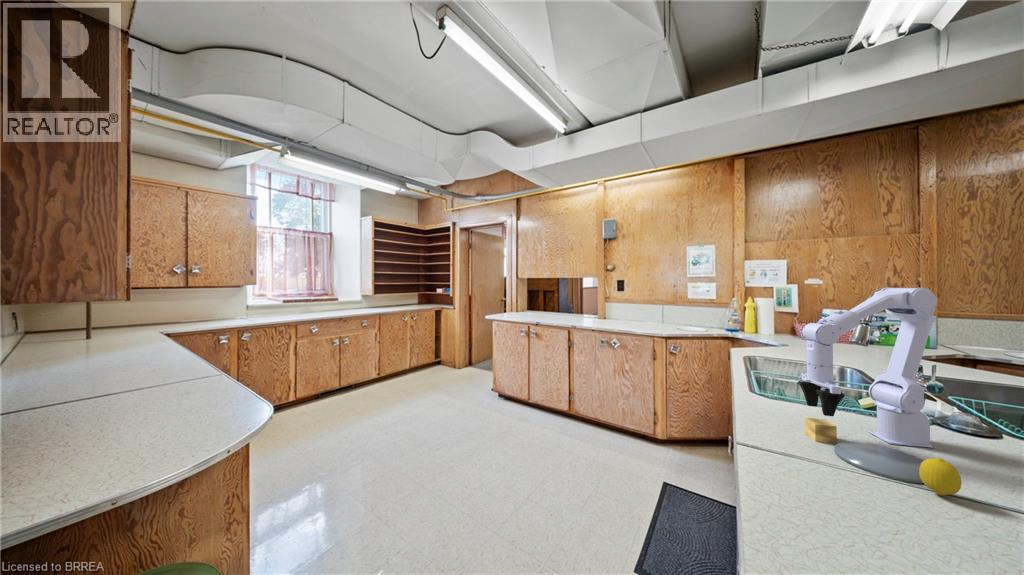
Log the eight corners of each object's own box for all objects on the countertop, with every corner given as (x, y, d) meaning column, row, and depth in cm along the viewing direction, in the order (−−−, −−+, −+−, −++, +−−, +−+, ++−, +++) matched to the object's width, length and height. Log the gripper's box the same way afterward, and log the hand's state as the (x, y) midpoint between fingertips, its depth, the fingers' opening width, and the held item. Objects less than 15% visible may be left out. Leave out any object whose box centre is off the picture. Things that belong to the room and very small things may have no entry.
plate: (898, 449, 90) (898, 446, 90) (969, 489, 72) (969, 484, 72) (818, 442, 94) (818, 438, 94) (866, 478, 77) (866, 473, 77)
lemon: (971, 505, 67) (970, 466, 67) (937, 502, 68) (937, 463, 68) (941, 488, 73) (941, 452, 73) (911, 486, 74) (910, 450, 74)
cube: (825, 435, 98) (825, 419, 98) (836, 443, 94) (836, 426, 94) (805, 434, 100) (805, 417, 100) (815, 441, 95) (815, 424, 95)
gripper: (789, 358, 105) (790, 401, 105) (818, 369, 91) (819, 419, 91) (816, 359, 103) (817, 402, 103) (850, 371, 89) (850, 421, 89)
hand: (820, 410), depth 97 cm, fingers open, 7 cm apart
